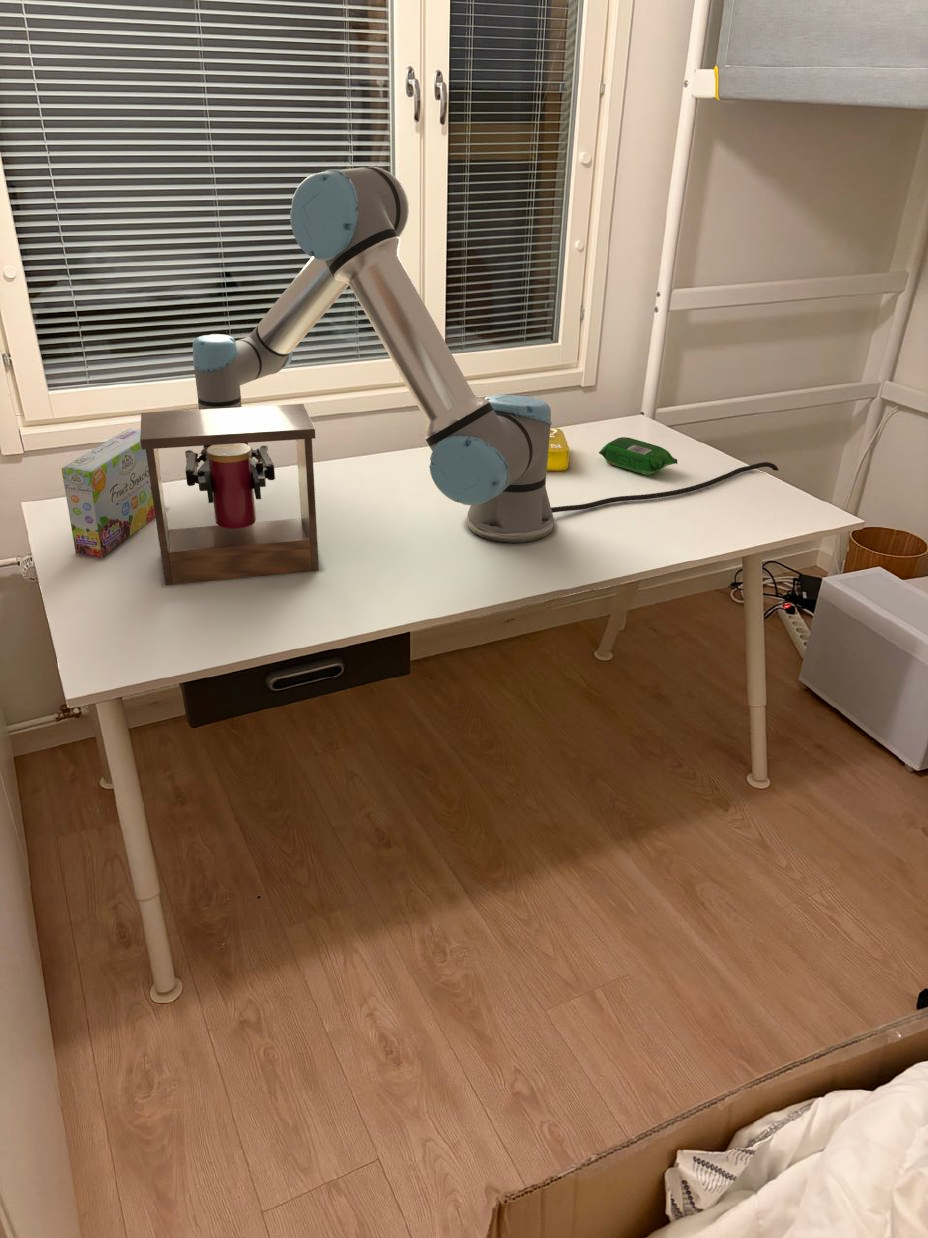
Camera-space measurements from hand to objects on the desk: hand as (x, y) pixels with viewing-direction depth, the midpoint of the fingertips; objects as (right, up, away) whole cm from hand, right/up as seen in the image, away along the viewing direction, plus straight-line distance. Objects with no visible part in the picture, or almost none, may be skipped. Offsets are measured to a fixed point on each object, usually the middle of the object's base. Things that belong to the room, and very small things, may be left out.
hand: (234, 492), depth 143 cm
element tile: (+49, +15, +55) cm, 75 cm away
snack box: (-23, -4, +18) cm, 30 cm away
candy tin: (-2, -3, +8) cm, 8 cm away
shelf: (-1, -10, +9) cm, 14 cm away
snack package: (+71, +12, +52) cm, 89 cm away
